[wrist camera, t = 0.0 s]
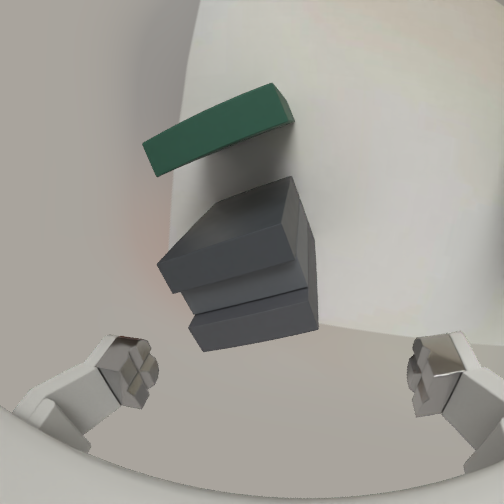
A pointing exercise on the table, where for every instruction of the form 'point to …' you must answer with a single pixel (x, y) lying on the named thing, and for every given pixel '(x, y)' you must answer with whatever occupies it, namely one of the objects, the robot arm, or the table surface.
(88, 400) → the robot arm
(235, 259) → the grey books
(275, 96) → the green book
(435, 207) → the table surface
